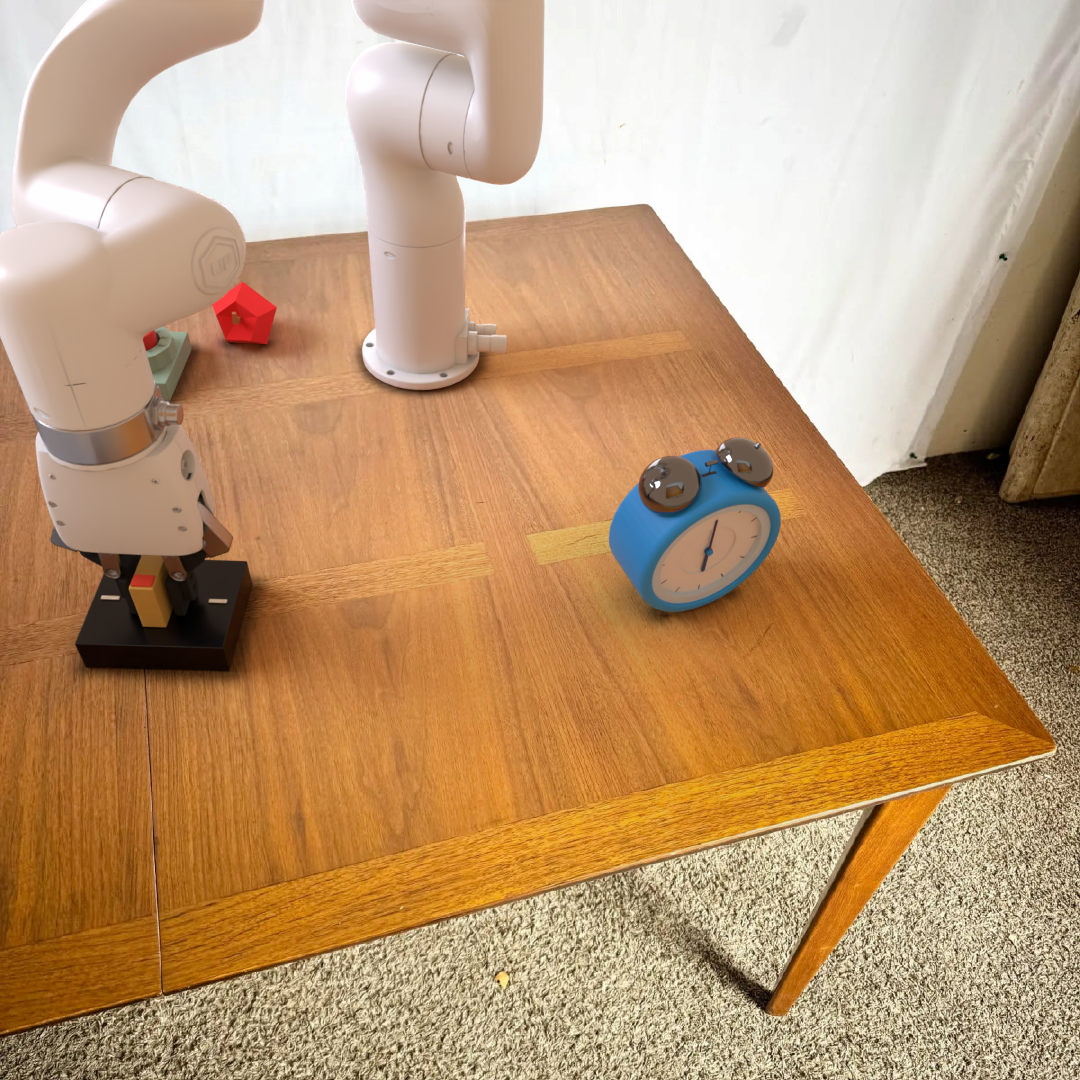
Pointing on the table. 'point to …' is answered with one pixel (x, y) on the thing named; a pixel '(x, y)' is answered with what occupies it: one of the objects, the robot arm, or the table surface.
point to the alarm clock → (697, 525)
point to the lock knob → (151, 591)
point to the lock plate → (170, 625)
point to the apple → (245, 315)
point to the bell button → (150, 340)
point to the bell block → (168, 359)
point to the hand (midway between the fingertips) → (163, 599)
